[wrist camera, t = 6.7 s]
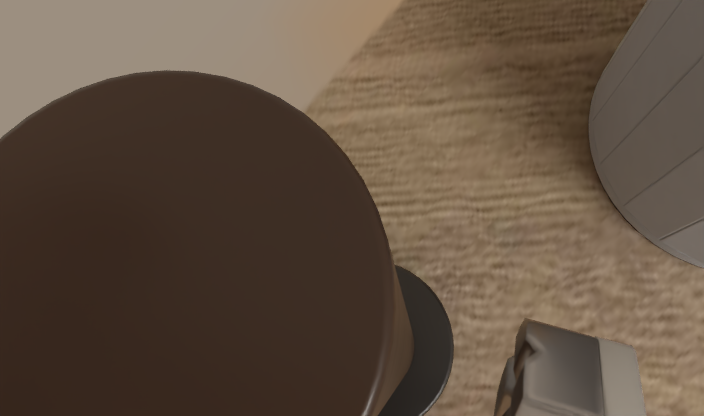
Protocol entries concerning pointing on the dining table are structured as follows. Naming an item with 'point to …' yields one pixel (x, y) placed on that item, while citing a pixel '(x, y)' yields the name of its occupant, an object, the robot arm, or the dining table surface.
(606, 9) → the dining table surface
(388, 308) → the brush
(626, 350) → the robot arm
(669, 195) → the gray cylindrical container
